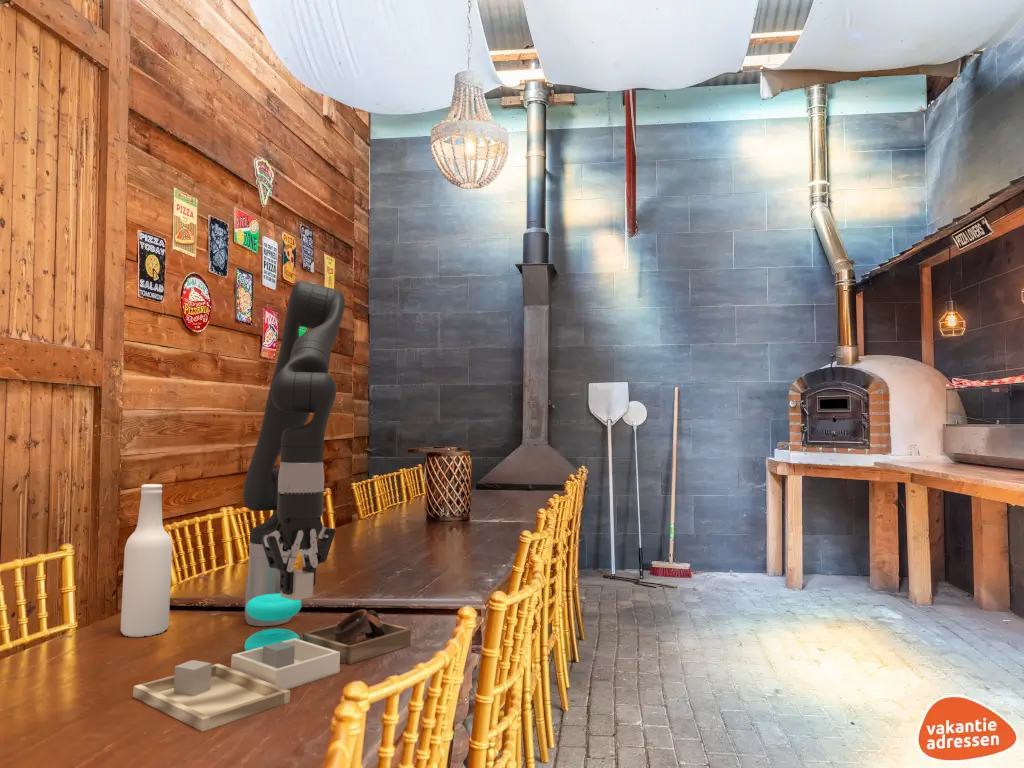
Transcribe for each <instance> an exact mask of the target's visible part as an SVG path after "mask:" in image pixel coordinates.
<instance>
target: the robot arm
mask: <svg viewBox="0 0 1024 768" xmlns="http://www.w3.org/2000/svg"><path fill="white" fill-rule="evenodd" d="M345 304H346V300H345V295H344V293H343V292H342V291H340V290H338V289H335V288H332V287H327V286H324V285H320V284H316V283H313V282H308V281H304V280H299V281H296V282H295V283H294V285H293V287H292V289H291V291H290V294H289V298H288V303H287V308H286V313H285V320H284V326H283V331H282V338H281V343H280V347H279V353H278V356H277V360H276V365H275V368H274V371H273V375H272V378H271V382H270V386H269V391H268V394H267V399H266V404H265V409H264V413H263V419H262V423H261V427H260V431H259V435H258V440H257V442H256V446H255V448H254V452H253V454H252V457H251V461H250V463H249V467H248V470H247V473H246V475H245V478H244V483H243V491H242V498H243V503H244V505H245V507H246V508H247V509H248V510H249V511H251V512H253V511H254V512H262V511H264V512H266V511H273V512H272V513H271V516H270V517H269V518H268V519H266V520H265V521H263V522H262V523H261V524H258V525H256V526H254V527H253V528H252V529H250V532H249V548H248V549H249V550H248V551H249V553H248V575H247V576H246V578H245V600H244V601H245V603H244V604H245V605H244V620H245V621H246V623H247V624H248V625H250V626H255V627H272V626H279V625H283V624H286V623H289V622H290V621H291V620H292V617H290V618H287V619H283V620H277V621H262V620H257V619H254V618H252V617H251V616H250V615H249V614H248V613H247V611H246V605H247V603H248V602H249V601H250V600H251V599H252V598H254V597H257V596H261V595H266V594H281V591H282V593H283V594H286V595H290V594H292V593H293V575H294V572H292V571H294V566H295V561H296V559H297V558H298V557H299V553H300V554H301V557H302V562H303V567H302V570H303V571H307V572H312V573H314V579H313V587H315V585H316V581H317V580H316V577H317V573H316V572H317V567H318V566H319V565H320V564H322V563H325V562H327V559H328V556H329V553H330V550H331V547H332V544H333V541H334V537H335V535H336V529H335V528H331V527H325V526H324V525H323V522H322V519H321V517H322V516H323V515H324V494H325V493H324V492H325V491H324V490H325V470H324V452H325V451H324V448H325V447H324V446H325V437H326V430H327V424H328V422H329V418H330V415H331V412H332V409H333V405H334V402H335V400H336V396H337V384H336V382H335V379H334V378H333V377H332V376H331V375H330V374H329V368H330V361H331V359H330V358H331V353H332V349H333V347H334V344H335V341H336V338H337V336H338V333H339V330H340V327H341V324H342V320H343V317H344V312H345V306H346V305H345ZM300 327H303V328H307V329H309V330H307V331H306V332H304V333H302V334H301V335H300ZM310 414H313V417H312V419H311V420H310V421H309V422H308V420H309V418H310ZM307 422H308V423H307ZM279 456H280V462H279V463H280V464H279V467H275V464H276V462H277V460H278V458H279Z"/></svg>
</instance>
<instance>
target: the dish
mask: <svg viewBox="0 0 1024 768" xmlns="http://www.w3.org/2000/svg"><path fill="white" fill-rule="evenodd" d="M283 642H284V643H287V644H290V645H293V646H295V650H294V664H292V665H288V666H285V667H281V668H278V669H277V668H275V667H272V666H269V665H266V664H263V647H260V648H256V649H252V650H248V651H246V650H244V651H241V652H238V653H232V654H231V657H230V658H231V661H230V662H231V664H230V668H232V669H234V670H237V671H239V672H242V673H245V674H247V675H250V676H253V677H255V678H258V679H260V680H263V681H266V682H268V683H271V684H274V685H276V686H279V687H281V688H284V689H287V690H290V689H293V688H296V687H299V686H302V685H306V684H308V683H309V684H310V683H312V682H315V681H318V680H321V679H324V678H327V677H330V676H335V675H336V674H337V675H338V674H340V670H341V669H340V667H341V664H340V652H338V651H335V650H332V649H328V648H325V647H322V646H319V645H315V644H312V643H309V642H306V641H303V639H300V640H299V639H296V638H294V639H290V640H287V641H283Z"/></svg>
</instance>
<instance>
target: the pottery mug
mask: <svg viewBox="0 0 1024 768" xmlns="http://www.w3.org/2000/svg"><path fill="white" fill-rule="evenodd" d="M357 619H359V620H358V621H357V622H356V623H355V624H353V625H352V626H350V627H348V628H346V627H347V626H348V625H350V624H351V623H353V622H355V621H356V620H357ZM380 621H381V620H380V618H379V615H378V613H377V612H376V611H375V610H373V609H370V610H367V609H359V610H358V609H357V610H356V611H354V612H351V613H349V614H348V615H346V616H345V617H343V619H342V620H341V621H339V622H338V623H337V624H338V627H339V629H338V627H336V628H335V629H334V630H333V632H334V634H335V635H336V638H335V641H336V642H339V643H342V644H346V645H347V644H348V643H350V642H352V643H354V644H357V643H358V641H357V638H358V636H357V631H359V632H360V633H365V634H364V635H365V639H374V638H377V637H381V636H384V635H386V633H385V630H384V627H383V626H382V623H381V622H380ZM345 628H346V629H345ZM376 636H377V637H376Z"/></svg>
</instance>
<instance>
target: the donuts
mask: <svg viewBox="0 0 1024 768" xmlns="http://www.w3.org/2000/svg"><path fill="white" fill-rule="evenodd" d="M301 609H302V599H300V600H296V601H295V600H291V599H288V598H284V597H281V594H266V595H261V596H257V597H254V598H252V599H251V600H250V601H249V602H248V603H247V605H246V611H247V613H248V614H249V615H250V616H251V617H252V618H254V619H257V620H262V621H277V620H283V619H287V618H290V617H291V618H292V617H294V616H295V615H297V614H298V613H299V612H300V610H301ZM294 638H296V639H299V640H301V637H300V636H299V635H298V633H296V632H295V631H294V630H291V629H286V628H267V629H266V628H265V629H262V630H259V631H256V632H254V633H253V634H251V635H250V636H249V637H247V638H246V640H245V643H244V651H248V650H252V649H256V648H260V647H263V646H266V645H269V644H273V643H277V642H283V641H287V640H290V639H294Z"/></svg>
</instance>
